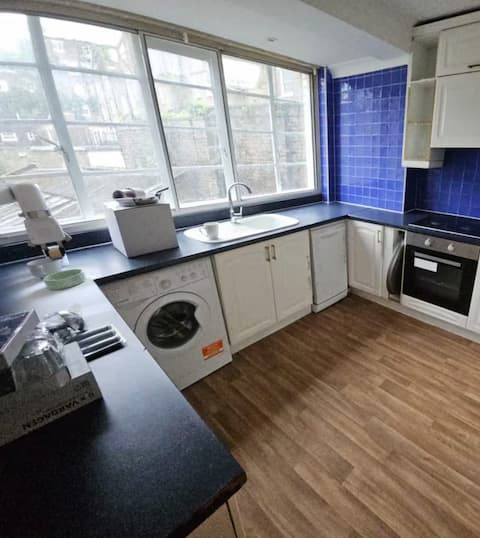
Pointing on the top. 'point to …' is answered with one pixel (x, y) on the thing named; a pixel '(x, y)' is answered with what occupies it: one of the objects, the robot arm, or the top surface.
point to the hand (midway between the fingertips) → (57, 256)
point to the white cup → (62, 261)
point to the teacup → (44, 267)
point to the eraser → (55, 254)
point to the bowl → (64, 279)
